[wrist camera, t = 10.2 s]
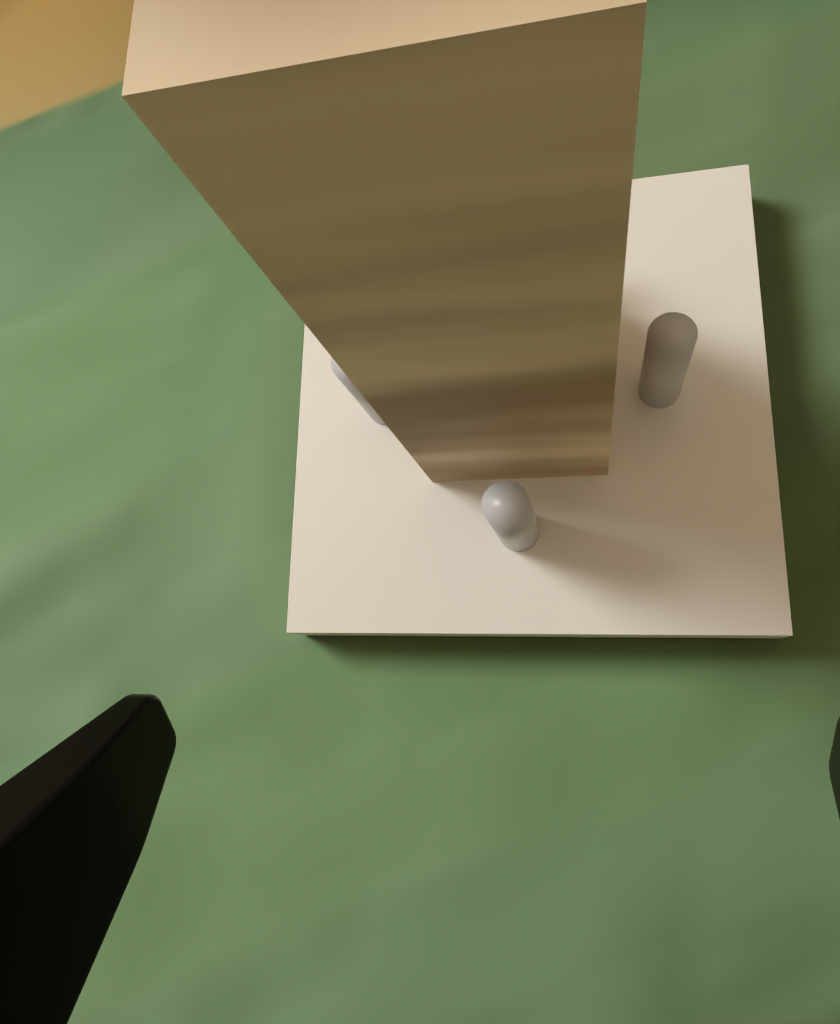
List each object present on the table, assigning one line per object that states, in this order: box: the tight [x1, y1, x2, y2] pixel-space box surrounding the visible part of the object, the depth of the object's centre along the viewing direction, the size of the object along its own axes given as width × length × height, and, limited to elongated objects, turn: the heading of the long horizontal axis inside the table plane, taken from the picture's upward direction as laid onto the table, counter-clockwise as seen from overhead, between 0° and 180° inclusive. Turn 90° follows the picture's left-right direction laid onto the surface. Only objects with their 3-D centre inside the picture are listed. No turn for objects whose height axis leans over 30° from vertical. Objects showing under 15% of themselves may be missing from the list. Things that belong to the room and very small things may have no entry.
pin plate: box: [287, 165, 793, 638], centre depth 18 cm, size 12×12×4 cm
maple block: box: [122, 0, 647, 482], centre depth 12 cm, size 4×4×13 cm
